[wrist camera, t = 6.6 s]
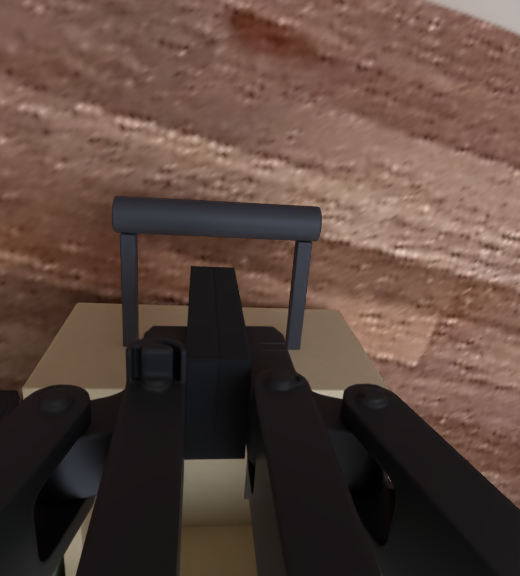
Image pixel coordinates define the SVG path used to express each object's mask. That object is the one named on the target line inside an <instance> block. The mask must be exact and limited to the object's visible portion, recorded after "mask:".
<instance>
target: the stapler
mask: <svg viewBox="0 0 520 576" xmlns="http://www.w3.org/2000/svg"><path fill="white" fill-rule="evenodd" d="M18 405H19V401H18V393H17V392H16V391H0V422H1V421H2V420H3V419H4V418H5V417H6V416H7V415H8V414H9V413H10V412H11V411H13V410H14V409H15V408H16V407H17V406H18Z"/></svg>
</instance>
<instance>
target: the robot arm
mask: <svg viewBox="0 0 520 576" xmlns="http://www.w3.org/2000/svg"><path fill="white" fill-rule="evenodd" d="M125 352H126V386H125V389H124V390H122V391H121V392H119V393H116V394H114V395H111V396H107V397H104V398H98V399H93V400H90V396H89V393H88V392H87V391H86V390H85V389H83V388H82V387H78V386H75V385H63V384H58V385H52V386H47V387H45V388H42V389H39V390H37V391H35V392H33V393H32V394H30V395H29V396H27V397H26V398H25V399H24V400H23V401H22V402H21V403H20V404H19V405H18V406H17V407H16V408H15V409H14V410H13V411H11V412H10V413H9V414H8V415H7V416H6V417H5V418H4V419H3V420H2V421H1V422H0V576H52V574H53V573H54V571H55V569H56V568H57V566H58V564H59V563H60V561H61V559H62V557H63V556H64V554H65V552H66V551H67V549H68V547H69V546H70V544H71V542H72V540H73V539H74V537H75V535H76V534H77V532H78V530H79V529H80V527H81V525H82V523H83V522H84V520H85V518H86V517H87V515H88V513H89V512H90V510H91V508H92V506H93V504H94V501H95V504H94V507H93V511H92V515H91V519H90V523H89V526H88V530H87V534H86V538H85V542H84V545H83V549H82V553H81V557H80V561H79V564H78V568H77V572H76V576H179V574H180V551H181V528H182V506H183V483H184V460H205V459H245V450H246V449H247V465H246V477H245V490H244V499H249V506H250V515H251V523H252V532H253V541H254V549H255V558H256V567H257V576H381V575H382V576H520V509H518V508H517V507H516V506H515V505H514V504H513V503H512V502H511V501H510V500H509V499H508V498H507V497H506V496H504V495H503V494H502V493H501V492H500V491H499V490H498V489H497V488H496V487H495V486H494V485H493V484H492V483H490V482H489V481H488V480H487V479H486V478H485V477H484V476H483V475H482V474H481V473H480V472H479V471H478V470H477V469H475V468H474V467H473V466H472V465H471V464H470V463H469V462H468V461H467V460H466V459H465V458H464V457H463V456H461V455H460V454H459V453H458V452H457V451H456V450H455V449H454V448H453V447H452V446H451V445H450V444H449V443H448V442H446V441H445V440H444V439H443V438H442V437H441V436H440V435H439V434H438V433H437V432H436V431H435V430H434V429H432V428H431V427H430V426H429V425H428V424H427V423H426V422H425V421H424V420H423V419H422V418H421V417H420V416H418V415H417V414H416V413H415V412H414V411H413V410H412V409H411V408H410V407H409V406H408V405H407V404H406V403H405V402H403V401H402V400H401V399H400V398H399V397H398V396H397V395H396V394H394V393H393V392H391V391H390V390H388V389H386V388H383V387H380V386H379V385H375V384H373V385H372V384H368V383H366V384H355V385H351V386H349V387H347V388H346V389H345V390H344V393H343V399H340V398H335V397H330V396H326V395H322V394H318V393H316V392H313V391H312V390H311V387H310V385H309V382H308V381H307V380H306V378H305V377H304V376H302V375H301V374H299V373H297V372H296V371H295V368H294V365H293V362H292V360H291V357H290V354H289V352H288V348H287V345H286V342H285V339H284V337H283V334H282V333H281V332H279V331H278V330H277V329H276V328H274V327H273V326H245V320H244V315H243V310H242V305H241V300H240V295H239V290H238V285H237V280H236V274H235V269H234V268H229V267H199V266H191V275H190V290H189V305H188V321H187V326H153V327H151V328H150V329H149V330H148V331H147V332H145V333H144V337H143V339H139V340H136V341H135V342H133V343H131V344H129V346H128V347H127V348H126V350H125ZM388 477H389V478H390V480H391V481H390V480H389V478H388ZM96 495H97V496H96ZM95 498H96V500H95ZM380 573H381V574H380Z"/></svg>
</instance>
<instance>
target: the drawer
mask: <svg viewBox="0 0 520 576" xmlns="http://www.w3.org/2000/svg"><path fill="white" fill-rule="evenodd" d="M112 224H113V229H114V231H115V232H117V233H121V234H120V257H121V292H122V304H106V303H77V304H76V305H75V307H74V309H73V310H72V312H71V313H70V315H69V316H68V318H67V319H66V321H65V322H64V324H63V326H62V327H61V329H60V330H59V332H58V333H57V335H56V336H55V338H54V339H53V341H52V343H51V344H50V346H49V347H48V349H47V350H46V352H45V353H44V355H43V357H42V358H41V360H40V361H39V363H38V364H37V366H36V367H35V369H34V370H33V372H32V374H31V375H30V377H29V378H28V380H27V381H26V383H25V384H24V386H23V388H22V392H23V400H24V399H25V398H26V397H27V396H29V395H30V394H32V393H33V392H35V391H37V390H39V389H42V388H45V387H47V386H52V385H58V384H63V385H75V386H78V387H82V388H83V389H85V390H86V391H87V392H88V393H89V396H90V400H93V399H98V398H104V397H107V396H111V395H114V394H116V393H119V392H121V391H122V390H124V389H125V386H126V352H125V350H126V348H127V347H128V346H129V344H131V343H133V342H135V341H136V340H139V339H143V337H144V333H145V332H147V331H148V330H149V329H150V328H151V327H153V326H187V321H188V306H178V305H142V304H138V247H137V233H138V234H160V235H183V236H205V237H227V238H249V239H271V240H293V241H295V250H294V260H293V270H292V280H291V289H290V299H289V309H285V308H250V307H242V310H243V315H244V320H245V326H273V327H274V328H276V329H277V330H278V331H279V332H281V333H282V334H283V337H284V339H285V342H286V345H287V348H288V352H289V354H290V357H291V360H292V362H293V365H294V368H295V371H296V372H297V373H299V374H301V375H302V376H304V377H305V378H306V380H307V381H308V382H309V385H310V387H311V390H312V391H313V392H316V393H318V394H322V395H326V396H330V397H335V398H340V399H343V393H344V390H345V389H346V388H347V387H349V386H351V385H355V384H366V383H368V384H372V385H373V384H375V385H379V386H380V387H383V388H386V389H388V390H389V388H388V387H387V385H386V384H385V382H384V380H383V379H382V377H381V376H380V374H379V373H378V371H377V369H376V368H375V366H374V365H373V363H372V362H371V360H370V358H369V357H368V355H367V354H366V352H365V350H364V349H363V347H362V346H361V344H360V343H359V341H358V339H357V338H356V336H355V335H354V333H353V332H352V330H351V328H350V327H349V325H348V324H347V322H346V320H345V319H344V317H343V316H342V314H341V313H340V311H339V310H321V309H305V302H306V293H307V284H308V276H309V267H310V258H311V249H312V242H311V241H317V240H318V239H319V236H320V232H321V225H322V215H321V210H320V208H319V207H314V206H295V205H277V204H258V203H240V202H221V201H203V200H184V199H166V198H147V197H129V196H115V197H114V200H113V205H112ZM246 465H247V449H246V450H245V459H205V460H184V483H183V506H182V528H181V551H180V574H179V576H257V567H256V558H255V549H254V541H253V532H252V523H251V515H250V506H249V499H244V490H245V477H246ZM96 496H97V495H96ZM95 500H96V498H95ZM94 504H95V501H94ZM94 504H93V506H92V508H91V510H90V512H89V513H88V515H87V517H86V518H85V520H84V522H83V523H82V525H81V527H80V529H79V530H78V532H77V534H76V535H75V537H74V539H73V540H72V542H71V544H70V546H69V547H68V549H67V551H66V552H65V554H64V565H65V576H76V572H77V568H78V564H79V561H80V557H81V553H82V549H83V545H84V542H85V538H86V534H87V530H88V526H89V523H90V519H91V515H92V511H93V507H94Z"/></svg>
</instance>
